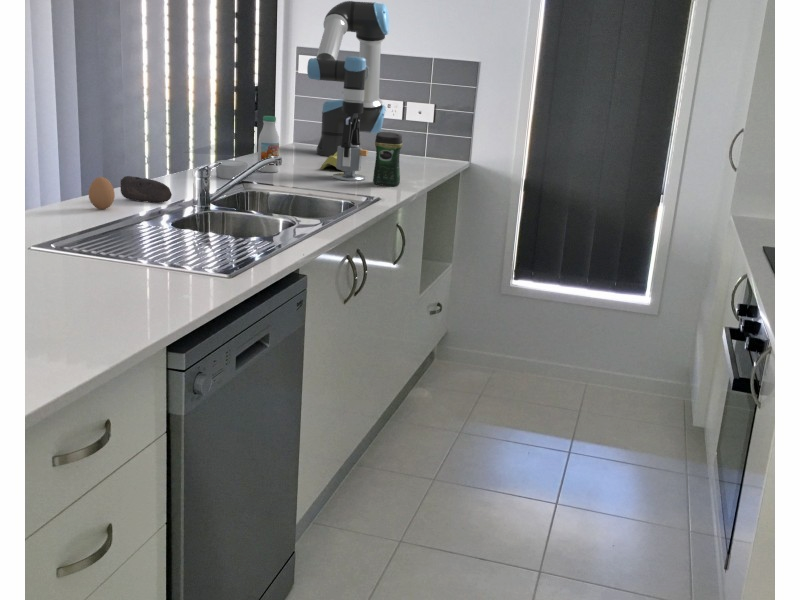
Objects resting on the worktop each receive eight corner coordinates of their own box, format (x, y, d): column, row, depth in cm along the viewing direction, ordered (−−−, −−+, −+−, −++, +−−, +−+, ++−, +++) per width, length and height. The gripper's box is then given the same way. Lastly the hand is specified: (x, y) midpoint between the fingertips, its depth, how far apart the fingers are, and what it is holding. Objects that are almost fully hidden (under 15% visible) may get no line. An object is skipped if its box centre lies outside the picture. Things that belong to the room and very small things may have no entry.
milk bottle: (253, 171, 313) (254, 115, 307) (264, 168, 320) (265, 114, 314) (271, 173, 310) (273, 118, 304) (282, 171, 317) (284, 116, 311)
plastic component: (350, 166, 325) (327, 153, 324) (341, 183, 327) (318, 169, 327) (361, 156, 343) (339, 143, 342) (352, 171, 346) (331, 159, 345)
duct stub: (337, 174, 320) (339, 152, 317) (368, 177, 318) (370, 156, 315) (328, 178, 309) (329, 156, 306) (360, 182, 306) (361, 160, 304)
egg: (117, 211, 234) (117, 179, 232) (92, 212, 231) (91, 179, 228) (111, 206, 240) (110, 174, 237) (86, 207, 236) (85, 175, 234)
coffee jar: (401, 184, 310) (405, 132, 304) (396, 187, 302) (400, 134, 297) (375, 181, 311) (378, 129, 306) (370, 184, 304) (373, 132, 298)
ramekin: (227, 181, 290) (227, 166, 288) (208, 176, 297) (208, 161, 295) (254, 179, 298) (254, 164, 296) (234, 173, 305) (234, 159, 303)
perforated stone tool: (175, 202, 251) (175, 179, 249) (167, 206, 246) (167, 182, 244) (127, 197, 253) (127, 174, 251) (119, 200, 248) (118, 176, 246)
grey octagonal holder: (340, 166, 317) (342, 144, 314) (368, 169, 315) (370, 147, 313) (334, 169, 309) (335, 147, 306) (362, 172, 307) (364, 150, 305)
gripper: (351, 98, 315) (347, 160, 322) (334, 102, 296) (331, 167, 302) (370, 100, 314) (366, 162, 321) (355, 104, 294) (351, 169, 301)
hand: (349, 164), depth 312 cm, fingers closed on grey octagonal holder, 8 cm apart
